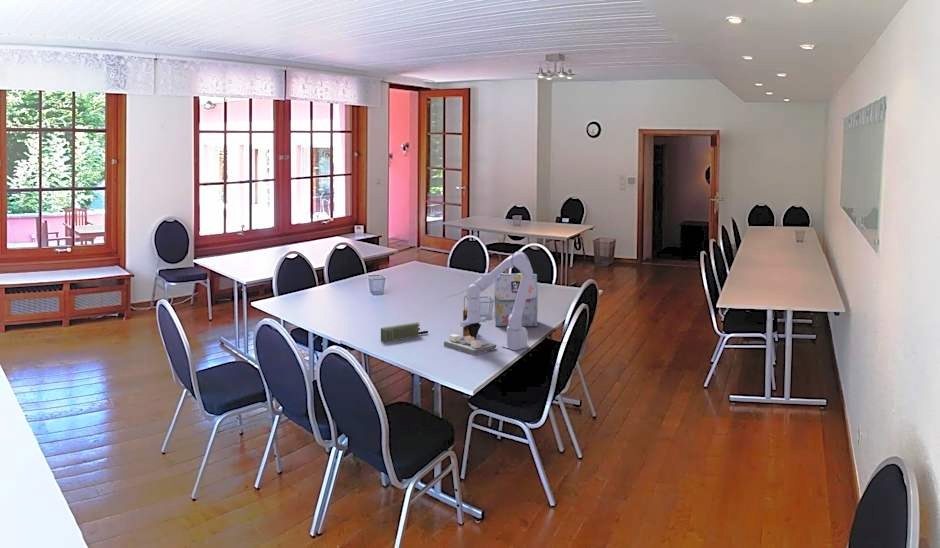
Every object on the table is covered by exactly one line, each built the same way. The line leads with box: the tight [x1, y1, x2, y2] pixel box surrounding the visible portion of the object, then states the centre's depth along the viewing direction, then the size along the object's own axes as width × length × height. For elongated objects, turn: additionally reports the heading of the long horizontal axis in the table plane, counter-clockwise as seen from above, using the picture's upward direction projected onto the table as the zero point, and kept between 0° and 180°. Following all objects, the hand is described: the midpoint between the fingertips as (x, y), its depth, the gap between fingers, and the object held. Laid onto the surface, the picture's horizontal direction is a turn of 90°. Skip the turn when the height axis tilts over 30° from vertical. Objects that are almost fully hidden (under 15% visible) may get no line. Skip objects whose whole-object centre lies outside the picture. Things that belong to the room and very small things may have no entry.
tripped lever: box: [463, 335, 475, 344], centre depth 345 cm, size 3×4×3 cm
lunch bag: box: [493, 272, 539, 327], centre depth 385 cm, size 22×17×26 cm
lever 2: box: [471, 340, 481, 348], centre depth 338 cm, size 3×4×2 cm
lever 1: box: [449, 333, 461, 342], centre depth 348 cm, size 3×4×2 cm
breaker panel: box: [443, 336, 497, 355], centre depth 346 cm, size 14×20×2 cm
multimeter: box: [462, 294, 484, 339], centre depth 364 cm, size 15×10×20 cm
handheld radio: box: [380, 321, 429, 342], centre depth 361 cm, size 7×3×25 cm
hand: (473, 339), depth 347 cm, fingers closed
